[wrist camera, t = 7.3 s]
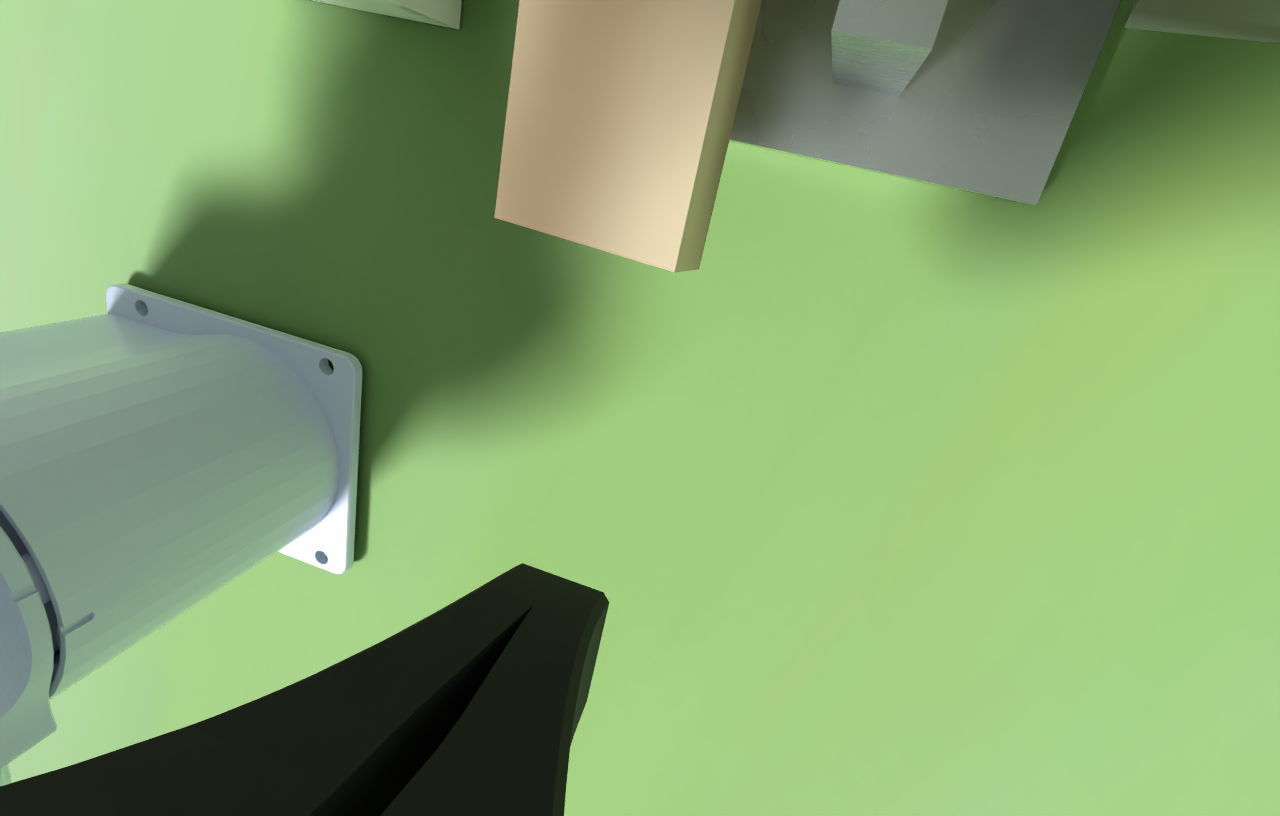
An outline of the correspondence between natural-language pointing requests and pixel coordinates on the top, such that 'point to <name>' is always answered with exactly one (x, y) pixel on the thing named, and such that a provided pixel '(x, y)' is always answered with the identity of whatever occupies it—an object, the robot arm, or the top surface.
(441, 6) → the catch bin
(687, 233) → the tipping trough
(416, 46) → the top surface
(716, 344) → the top surface
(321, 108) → the top surface
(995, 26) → the lever stand
